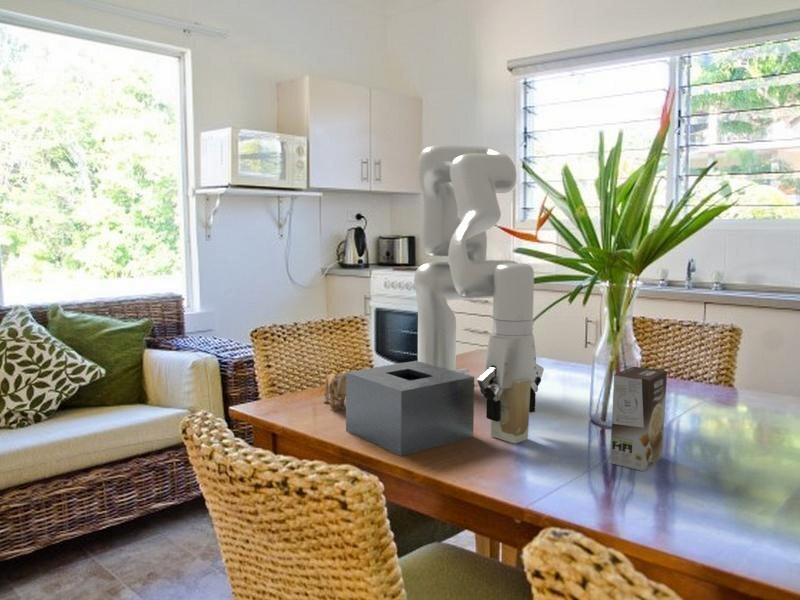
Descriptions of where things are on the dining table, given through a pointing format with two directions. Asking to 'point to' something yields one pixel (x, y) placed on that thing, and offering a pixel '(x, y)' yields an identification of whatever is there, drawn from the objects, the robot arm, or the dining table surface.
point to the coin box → (409, 406)
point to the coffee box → (638, 417)
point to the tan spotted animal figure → (336, 389)
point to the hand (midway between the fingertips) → (511, 415)
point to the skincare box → (513, 413)
